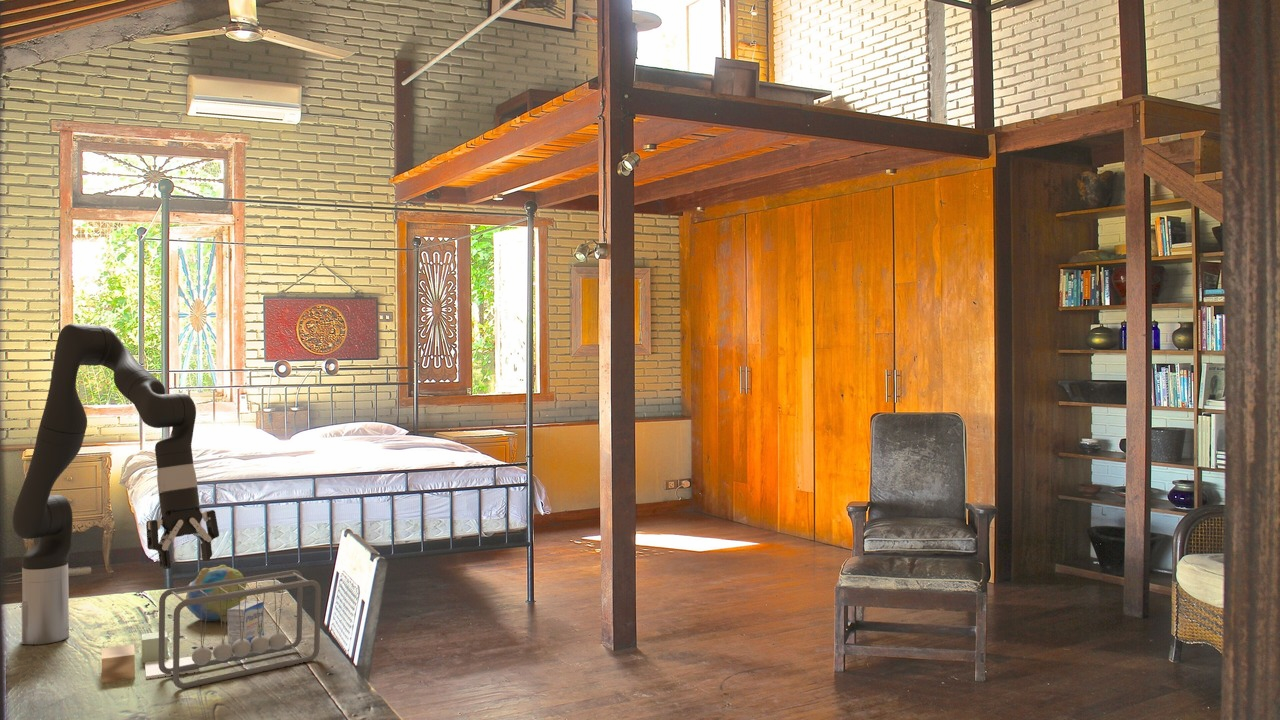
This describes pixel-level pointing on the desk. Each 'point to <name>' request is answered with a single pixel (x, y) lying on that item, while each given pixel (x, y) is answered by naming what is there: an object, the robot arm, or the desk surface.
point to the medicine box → (245, 621)
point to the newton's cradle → (240, 646)
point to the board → (154, 671)
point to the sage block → (152, 647)
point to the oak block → (118, 663)
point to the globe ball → (214, 607)
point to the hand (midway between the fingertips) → (186, 564)
